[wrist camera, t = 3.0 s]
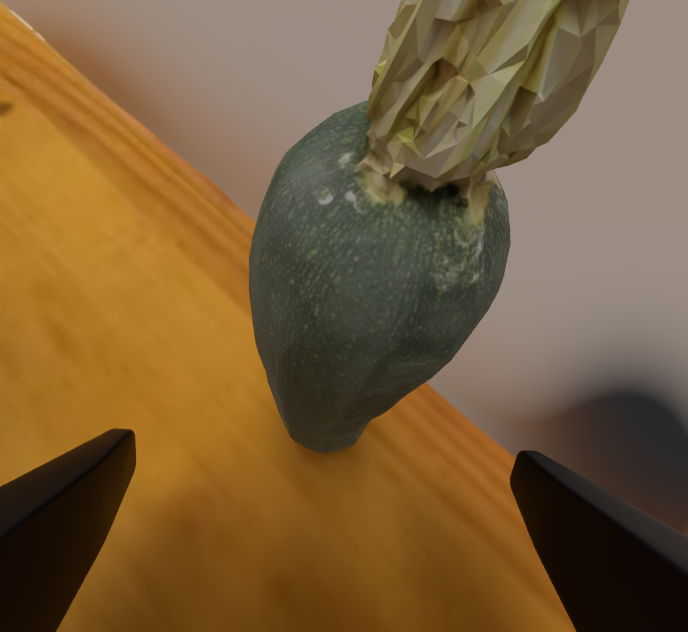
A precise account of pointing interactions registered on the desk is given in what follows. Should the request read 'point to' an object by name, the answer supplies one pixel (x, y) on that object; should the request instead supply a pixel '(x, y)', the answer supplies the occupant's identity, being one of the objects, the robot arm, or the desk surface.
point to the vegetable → (409, 204)
